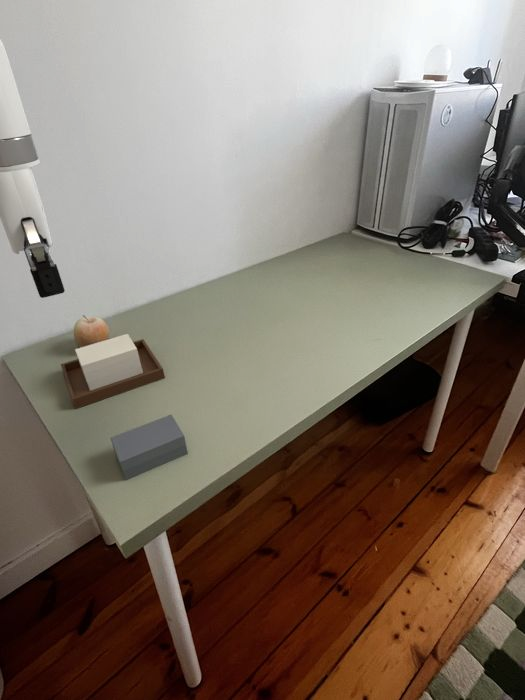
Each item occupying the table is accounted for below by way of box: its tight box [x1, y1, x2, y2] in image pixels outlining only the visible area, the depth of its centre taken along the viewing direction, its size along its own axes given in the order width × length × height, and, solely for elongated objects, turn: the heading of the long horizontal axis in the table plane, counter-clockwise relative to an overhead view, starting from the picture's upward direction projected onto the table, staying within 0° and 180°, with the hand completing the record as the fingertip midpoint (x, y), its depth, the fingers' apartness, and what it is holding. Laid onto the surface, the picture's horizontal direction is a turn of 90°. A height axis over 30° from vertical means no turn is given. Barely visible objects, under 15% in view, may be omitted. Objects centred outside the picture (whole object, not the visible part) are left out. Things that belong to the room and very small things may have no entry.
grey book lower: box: [112, 444, 188, 481], centre depth 69 cm, size 10×6×2 cm, turn 120°
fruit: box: [73, 314, 110, 348], centre depth 95 cm, size 8×7×8 cm
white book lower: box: [83, 365, 143, 391], centre depth 87 cm, size 10×7×2 cm, turn 120°
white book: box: [74, 333, 139, 374], centre depth 84 cm, size 10×7×2 cm, turn 120°
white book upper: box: [79, 357, 141, 383], centre depth 85 cm, size 10×7×2 cm, turn 120°
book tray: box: [60, 338, 166, 410], centre depth 87 cm, size 17×13×2 cm
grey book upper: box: [110, 414, 187, 471], centre depth 67 cm, size 10×6×2 cm, turn 120°
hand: (48, 282), depth 62 cm, fingers open, 9 cm apart
